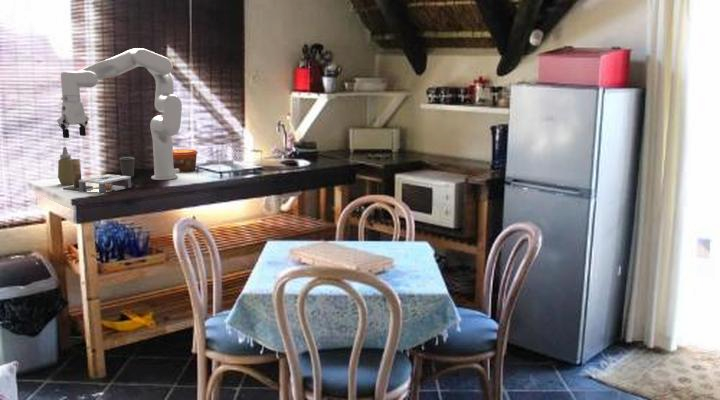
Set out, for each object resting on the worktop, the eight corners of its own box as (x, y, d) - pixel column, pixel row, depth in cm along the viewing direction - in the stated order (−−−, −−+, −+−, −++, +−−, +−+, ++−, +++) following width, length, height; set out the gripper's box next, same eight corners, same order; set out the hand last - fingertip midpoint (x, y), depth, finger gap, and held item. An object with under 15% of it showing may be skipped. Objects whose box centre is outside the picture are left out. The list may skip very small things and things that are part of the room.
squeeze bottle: (79, 184, 336) (76, 147, 333) (62, 186, 331) (59, 148, 327) (72, 182, 342) (69, 145, 339) (55, 184, 337) (52, 146, 333)
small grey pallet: (108, 185, 335) (107, 174, 334) (131, 187, 329) (130, 176, 328) (79, 191, 319) (78, 179, 318) (102, 193, 313) (102, 182, 312)
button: (105, 187, 327) (105, 183, 326) (112, 188, 325) (112, 184, 325) (99, 189, 323) (99, 184, 323) (105, 189, 322) (105, 185, 321)
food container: (183, 173, 370) (182, 153, 367) (161, 171, 377) (160, 151, 375) (204, 169, 383) (203, 150, 381) (182, 167, 391) (182, 148, 389)
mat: (78, 186, 332) (78, 184, 332) (92, 187, 328) (92, 186, 328) (63, 189, 324) (63, 187, 324) (77, 190, 320) (77, 189, 320)
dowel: (83, 186, 327) (81, 159, 324) (77, 188, 324) (75, 160, 321) (78, 186, 328) (76, 158, 326) (72, 187, 325) (70, 159, 322)
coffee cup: (126, 178, 355) (124, 158, 353) (116, 176, 360) (115, 157, 358) (139, 176, 361) (138, 156, 359) (130, 174, 366) (129, 155, 364)
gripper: (62, 100, 309) (65, 139, 312) (92, 98, 324) (95, 135, 327) (50, 100, 312) (53, 138, 315) (80, 98, 327) (83, 134, 331)
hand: (74, 136), depth 321 cm, fingers open, 9 cm apart
